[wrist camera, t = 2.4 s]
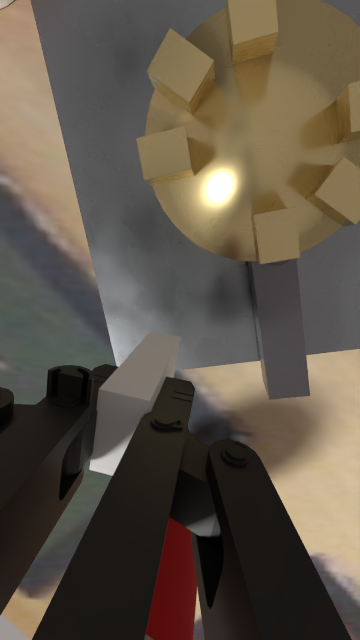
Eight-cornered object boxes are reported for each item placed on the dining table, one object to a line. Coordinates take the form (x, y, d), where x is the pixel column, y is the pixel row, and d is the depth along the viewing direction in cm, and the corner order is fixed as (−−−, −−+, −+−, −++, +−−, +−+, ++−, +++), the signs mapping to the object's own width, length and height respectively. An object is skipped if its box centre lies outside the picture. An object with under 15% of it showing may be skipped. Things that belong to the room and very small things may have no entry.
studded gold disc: (141, 77, 15) (112, 16, 11) (352, 16, 14) (407, -82, 10) (196, 384, 19) (190, 422, 15) (370, 366, 17) (416, 402, 13)
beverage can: (137, 441, 25) (67, 602, 14) (214, 468, 25) (208, 657, 13) (119, 502, 27) (42, 692, 16) (190, 529, 27) (167, 743, 15)
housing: (64, 30, 19) (22, -28, 15) (430, -93, 16) (503, -211, 12) (136, 356, 24) (118, 378, 20) (433, 317, 20) (486, 334, 16)
